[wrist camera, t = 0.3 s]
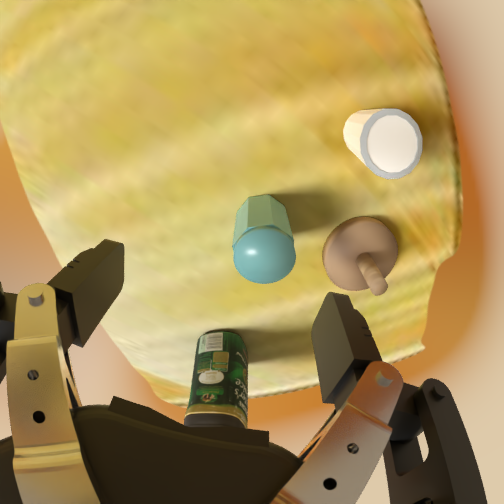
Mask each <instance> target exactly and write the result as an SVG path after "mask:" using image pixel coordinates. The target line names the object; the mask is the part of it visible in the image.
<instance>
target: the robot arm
mask: <svg viewBox="0 0 504 504" xmlns="http://www.w3.org/2000/svg"><path fill="white" fill-rule="evenodd" d="M123 283H124V245H123V243H119V242H115V241H112V240H108V239H104V240H103V241H102V242H101V243H100V244H99V245H97V246H96V247H95V248H94V249H93V248H90V249H88V250H86V251H83V252H81V253H80V254H78V255H77V256H76V257H75V258H74V259H73V261H71V262H70V263H68V264H67V267H66V266H65V267H64V268H63V269H62V270H61V271H60V272H59V273H58V274H57V275H56V276H55V277H53V279H51V280H50V281H49V282H48V283H47V284H43V283H36V284H31V285H28V286H26V287H25V288H23V289H22V290H21V291H20V292H19V294H13V293H6V292H3V288H2V285H1V282H0V383H1V381H2V380H3V378H4V377H5V375H6V374H7V395H8V407H9V416H10V424H11V431H12V436H10V437H7V438H5V439H2V440H0V504H355V503H356V501H357V500H358V498H359V496H360V495H361V493H362V491H363V489H364V488H365V486H366V484H367V482H368V480H369V479H370V477H371V475H372V473H373V471H374V469H375V467H376V465H377V463H378V461H379V459H380V457H381V455H382V453H383V456H384V462H385V468H386V475H387V481H388V488H389V496H390V504H487V500H486V495H485V491H484V487H483V483H482V479H481V476H480V472H479V469H478V465H477V462H476V459H475V456H474V452H473V450H472V446H471V443H470V441H469V438H468V435H467V432H466V429H465V427H464V424H463V421H462V419H461V416H460V414H459V411H458V409H457V406H456V404H455V402H454V399H453V397H452V394H451V392H450V390H449V389H448V387H447V386H446V385H445V384H444V383H442V382H441V381H439V380H437V379H433V378H430V379H427V380H426V381H424V383H423V384H422V385H421V386H420V387H416V386H413V385H410V384H406V383H404V382H403V378H402V376H401V374H400V373H399V371H398V370H397V369H396V368H395V367H393V366H392V365H390V364H389V363H386V362H383V361H382V358H381V356H380V353H379V351H378V348H377V346H376V344H375V341H374V339H373V337H372V334H371V332H370V330H369V327H368V325H367V322H366V320H365V318H364V317H363V316H362V315H361V314H360V313H359V311H358V310H356V309H354V308H353V306H352V303H351V301H350V298H349V296H348V295H344V294H339V293H334V292H329V293H328V294H327V295H326V297H325V299H324V301H323V304H322V306H321V308H320V310H319V312H318V315H317V317H316V319H315V321H314V324H313V327H312V342H313V348H314V353H315V359H316V364H317V370H318V376H319V382H320V387H321V394H322V401H323V403H331V404H335V409H334V411H333V412H332V413H331V414H330V416H329V417H328V419H327V420H326V421H325V423H324V424H323V425H322V427H321V428H320V429H319V431H318V432H317V433H316V434H315V436H314V437H313V438H312V440H311V441H310V442H309V444H308V445H307V446H306V447H305V448H304V449H303V450H302V452H301V453H300V454H299V455H298V456H295V455H294V454H293V453H291V452H290V451H288V450H286V449H285V448H283V447H280V446H278V445H276V444H274V443H271V442H269V431H260V430H253V429H246V428H239V427H232V426H223V427H188V426H185V425H183V424H180V423H178V422H176V421H174V420H172V419H170V418H168V417H166V416H164V415H163V414H161V413H159V412H157V411H155V410H153V409H151V408H149V407H146V406H143V405H140V404H136V403H133V402H130V401H127V400H124V399H122V398H119V397H116V396H113V399H112V401H111V404H110V405H87V406H82V404H81V401H80V398H79V394H78V391H77V387H76V383H75V378H74V374H73V369H72V364H71V359H70V354H69V350H68V349H69V347H70V346H71V344H75V345H77V346H80V347H83V346H84V345H85V343H86V342H87V340H88V339H89V337H90V336H91V334H92V333H93V331H94V330H95V328H96V327H97V325H98V324H99V322H100V321H101V319H102V318H103V316H104V315H105V313H106V312H107V310H108V309H109V308H110V306H111V305H112V303H113V302H114V300H115V299H116V298H117V296H118V295H119V293H120V292H121V290H122V287H123ZM423 431H424V434H425V437H426V440H427V444H428V448H429V453H428V457H427V459H426V460H425V461H424V462H423V458H422V455H421V450H420V446H419V443H418V439H417V436H418V435H419V434H420V433H422V432H423Z"/></svg>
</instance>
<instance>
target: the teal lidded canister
mask: <svg viewBox="0 0 504 504" xmlns="http://www.w3.org/2000/svg"><path fill="white" fill-rule="evenodd" d="M232 247H233V251H234V264H235V267H236V269H237V270H238V272H239V273H240V274H241V275H242V276H243V277H244V278H246V279H247V280H249V281H252V282H255V283H261V284H267V283H273V282H276V281H279V280H281V279H283V278H284V277H285V276H287V275H288V274H289V273H290V271H291V270H292V268H293V266H294V264H295V260H296V253H295V249H294V240H293V235H292V231H291V227H290V224H289V220H288V216H287V213H286V209H285V206H284V205H283V204H281V203H280V202H278V201H277V200H276V199H274V198H273V197H271V196H270V195H262V196H255V197H248V199H247V200H246V201H245V203H244V204H243V205H242V206H241V208H240V209H239V210H238V212H237V215H236V222H235V230H234V238H233V245H232Z"/></svg>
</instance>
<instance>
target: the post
mask: <svg viewBox="0 0 504 504" xmlns="http://www.w3.org/2000/svg"><path fill="white" fill-rule="evenodd" d="M397 255H398V246H397V241H396V239H395V237H394V235H393V234H392V233H391V231H390V230H389V229H388V228H387V227H386V226H385V225H384V224H383V223H382V222H381V221H379V220H377V219H375V218H371V217H355V218H352V219H349V220H347V221H345V222H343V223H341V224H340V225H339V226H337V227H336V228H335V229H334V230H333V231H332V232H331V234H330V235H329V236H328V238H327V240H326V242H325V244H324V247H323V254H322V258H323V263H324V266H325V269H326V272H327V274H328V277H329V278H330V280H331V281H332V282H333V283H334V284H335V285H336V286H338V287H340V288H342V289H345V290H350V291H359V290H364V289H368V288H370V290H371V292H372V294H374V295H381V294H383V293H384V292H385V291H386V290H387V288H388V284H387V282H386V281H385V279H384V278H385V277H386V276H387V275H388V274H389V273H390V272H391V270H392V268H393V267H394V265H395V262H396V259H397Z"/></svg>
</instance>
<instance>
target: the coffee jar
mask: <svg viewBox="0 0 504 504" xmlns="http://www.w3.org/2000/svg"><path fill="white" fill-rule="evenodd" d="M247 411H248V356H247V350H246V347H245V344H244V342H243V340H242V339H241V337H240V336H239V335H237V334H234V333H231V332H225V331H215V332H210V333H207V334H204V335H202V336H201V337H200V338H199V339H198V342H197V348H196V355H195V363H194V371H193V378H192V385H191V392H190V399H189V404H188V408H187V411H186V414H185V419H184V425H185V426H188V427H223V426H232V427H239V428H246V429H247Z"/></svg>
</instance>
